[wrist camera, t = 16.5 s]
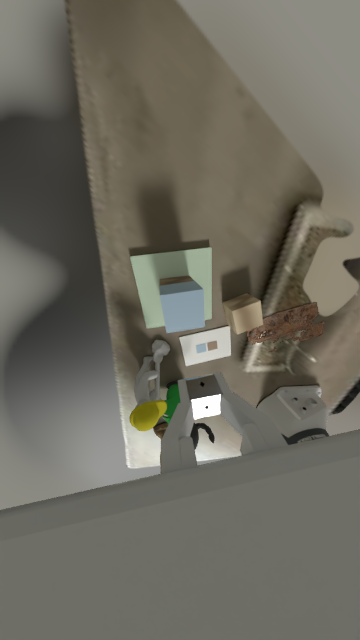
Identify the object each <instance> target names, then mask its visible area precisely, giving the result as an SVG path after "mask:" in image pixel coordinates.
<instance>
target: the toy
mask: <svg viewBox="0 0 360 640" xmlns="http://www.w3.org/2000/svg"><path fill="white" fill-rule="evenodd" d="M167 388H168V391H167V400H165V402H166V404H167V410H166V412H165V413H164V414H163V417H164V418H165V420H166V422H167V423H168V424H169V423H170V420H171V418H172V416H173V414H174V412H175V410H176V408H177V405H178V403H181V401H180V394H179V387H178V381H175V382H171V383H169V384H168V385H167ZM199 428H202V429H205V430H206V432H207V433H208V434H209V439H210V441H211V442H213V443H214V434H213V433H212V431H211V429H210V428H209V426H207V425H206V424H204V423H201V424H200V423H197V424H195V423H194V424H193V427H192V431H191V434H190V437H191V438H192V439H193V445H194V450H195V449H196V447H197V444H198V440H199V435H198V429H199Z"/></svg>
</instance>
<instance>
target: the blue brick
mask: <svg viewBox="0 0 360 640" xmlns="http://www.w3.org/2000/svg"><path fill="white" fill-rule="evenodd" d="M160 299H161V304H162V310H163V316H164V321H165V327H166V333H171V332H177V331H183V330H189V329H196V328H202V327H205V314H204V289H203V288H202V287H201V286H200V285H199V284H198V283H197V282H196V281H190V282H183V283H176V284H169V285H162V286H160Z"/></svg>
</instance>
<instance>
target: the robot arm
mask: <svg viewBox="0 0 360 640" xmlns="http://www.w3.org/2000/svg"><path fill="white" fill-rule="evenodd" d="M178 387H179V394H180V401H181V403H178V405H177V408H176V410H175V412H174V414H173V416H172V418H171V420H170V423H169V425H168V427H167V429H166V431H165V433H164V436H163V438H162V440H161V474H158V475H154V476H149V477H145V478H140V479H136V480H131V481H127V482H122V483H118V484H114V485H109V486H105V487H100V488H96V489H91V490H87V491H83V492H78V493H74V494H69V495H65V496H60V497H56V498H51V499H47V500H42V501H38V502H33V503H29V504H25V505H20V506H16V507H11V508H7V509H3V510H0V640H360V429H359V430H354V431H350V432H346V433H341V434H337V435H332V436H329V435H328V433H327V431H326V425H327V418H328V408H327V406H326V404H325V403H324V402H323V400H322V399H321V398H320V397H321V388H320V387H319V386H318V385H314V386H292V387H280V388H278V389H277V390H276V391H275V392H274V393H273V394H272V395H270V396H268V397H267V398H265V399H264V400H263V401H262V402H261V403H260V404H259V405H258V407H257V408H255V407H254V406H253V405H251V404H250V403H248V402H247V401H245V400H244V399H243V398H241V397H240V396H238V395H237V394H235V393H232V392H231V391H230V389H229V387H228V385H227V383H226V381H225V379H224V377H223V375H222V373H221V372H220V373H214V374H209V375H204V376H199V377H194V378H187V379H182V380H178ZM217 414H220V415H221V416H222V417H223V418H224V419H225V420H226V421H227V422H228V423H229V424H230V425H231V426H232V427H233V428H234V429H235V430H236V431H237V432H238V433H239V434H240V435H241V436H242V442H241V449H240V451H241V454H242V456H238V457H234V458H230V459H225V460H221V461H216V462H212V463H207V464H203V465H198V466H197V461H196V456H195V450H194V445H193V439H192V438H191V437H190V434H191V431H192V427H193V424H194V419H197V418H201V417H206V416H211V415H217Z"/></svg>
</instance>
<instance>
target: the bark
mask: <svg viewBox="0 0 360 640" xmlns="http://www.w3.org/2000/svg"><path fill="white" fill-rule="evenodd" d="M318 313H319V312H318V307H317V303H316V302H313V303H311V304H306V305H303V306H301V307H297V308H293V309H290V310H287V311H283V312H278V313H276V314H273V315H272V316H271V317H270V316H268V317H266V318H264V319H263V325H261V326H259V327H256V328H253V329H254V330H253V329H251V330H253V331H252V333H253V332H254V333H255V332H257V333H258V334H255V335H254V336H255V337H248V336H251V335H248V333H249V331H251V330H248V333H247V335H248V336H247V337H248V338H249V341H252V342H251V343H252V345H253V343H254V344H255V343H256V342H257V343H260V342H263V341H265V340H269V339H271V340H272V341H274V342H273V343H275V342H277V340H278V338H279V337H280V336H281V337H284V336H287V337H286V339H285V340H287V339H291V338H293V337H294V333H293V332H294V331H295V330H298V331H300V330H306V329H307V330H308V332H304V331H303V332H301V338H299V337H296V338H294V340H293V341H296V340H298V339H299V340H300V342H301V341H306V340H308V339H310V338H312V337H316V336H320V335H321V334H323V327H324V323H325V322H326V321H325V322H321V323H318V324H314V325H313V324H312V323H311V322H312V320H314V319H315V318H316V316H317V314H318ZM295 320H296V322H295V323H293V321H295ZM297 322H298V323H297ZM258 331H259V332H258ZM264 331H266V333H264V334H265V336H263V335H264V334H263V332H264ZM305 333H307V334H306V337H305V338H303V335H304V334H305ZM261 334H262V337H261V336H260V335H261ZM308 336H309V337H308ZM258 337H259V339H257V338H258ZM260 337H261V338H260ZM254 338H256V339H255V340H254ZM276 338H277V340H274V339H276ZM251 339H253V340H251ZM254 341H255V342H254ZM282 342H283V341H282ZM263 343H264V342H263ZM280 343H281V342H280ZM275 350H278V349H276V347H274V350H272V351H275ZM272 351H269V352H272Z"/></svg>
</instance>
